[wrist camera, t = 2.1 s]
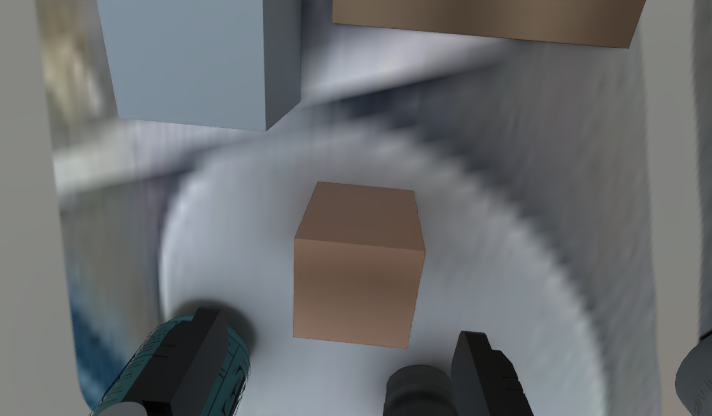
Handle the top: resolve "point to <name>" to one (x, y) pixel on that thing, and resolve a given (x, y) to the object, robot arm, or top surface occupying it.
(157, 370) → the robot arm
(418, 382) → the beverage cup
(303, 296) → the terracotta block
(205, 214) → the top surface
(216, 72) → the slate block
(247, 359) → the beverage bottle
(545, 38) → the board
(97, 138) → the top surface
